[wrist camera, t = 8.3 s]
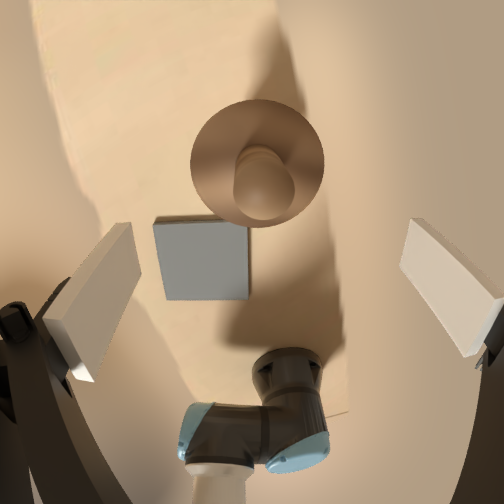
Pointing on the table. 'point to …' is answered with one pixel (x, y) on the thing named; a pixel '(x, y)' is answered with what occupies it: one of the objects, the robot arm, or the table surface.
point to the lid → (257, 163)
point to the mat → (203, 259)
